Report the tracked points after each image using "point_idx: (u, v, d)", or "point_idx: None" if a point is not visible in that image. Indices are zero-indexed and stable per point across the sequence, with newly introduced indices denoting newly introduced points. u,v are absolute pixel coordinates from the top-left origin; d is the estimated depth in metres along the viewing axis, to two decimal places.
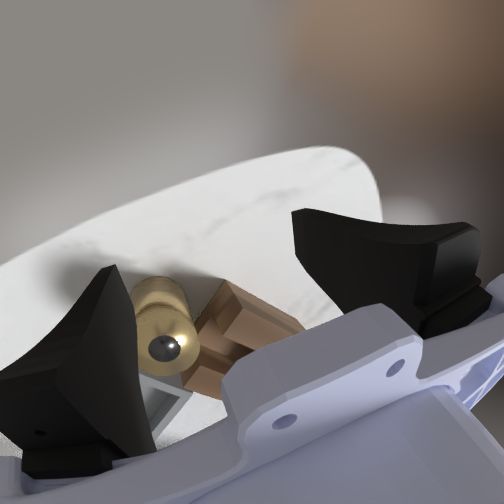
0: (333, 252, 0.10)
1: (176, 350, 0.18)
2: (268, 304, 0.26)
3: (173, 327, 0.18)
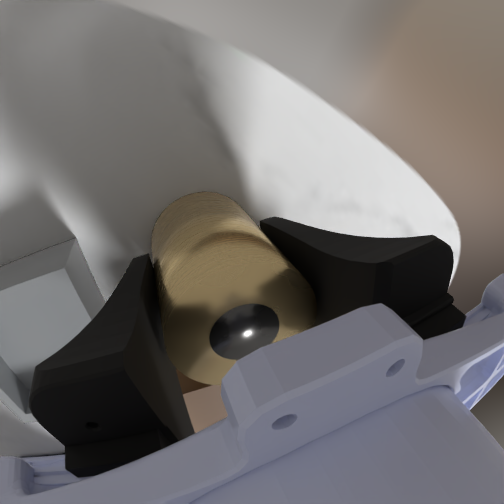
0: (297, 264, 0.10)
1: (258, 346, 0.09)
2: None
3: (298, 306, 0.09)
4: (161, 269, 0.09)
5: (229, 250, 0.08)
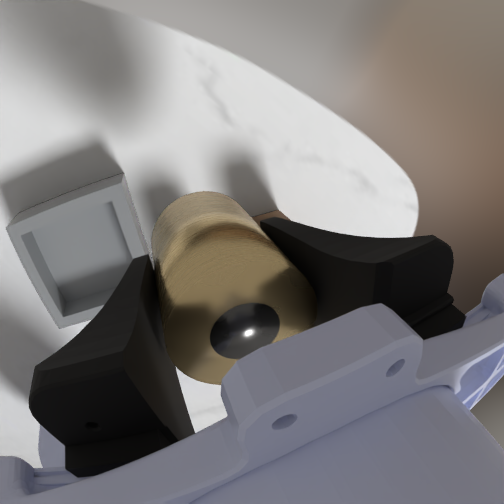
0: (297, 264, 0.10)
1: (259, 345, 0.09)
2: None
3: (298, 305, 0.09)
4: (161, 268, 0.09)
5: (230, 249, 0.08)
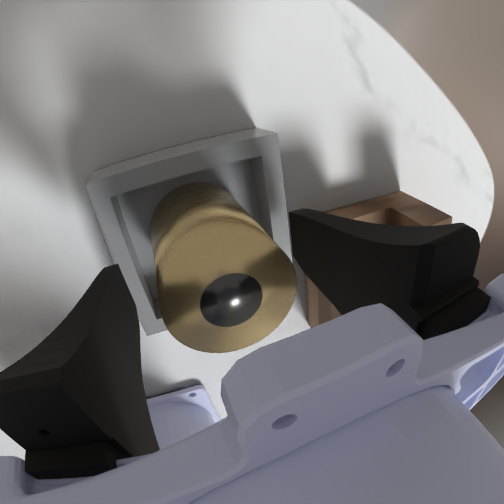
0: (330, 253, 0.10)
1: (244, 314, 0.10)
2: None
3: (279, 277, 0.10)
4: (159, 246, 0.11)
5: (217, 226, 0.09)
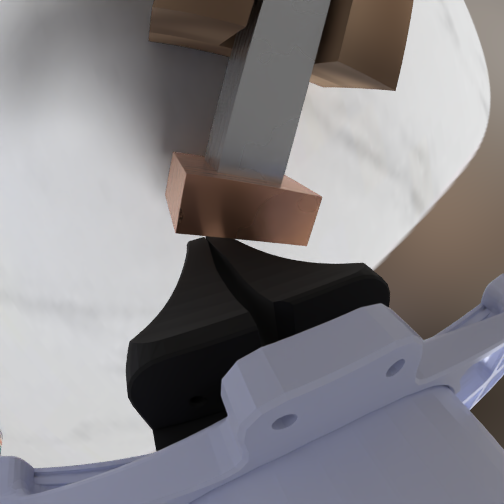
0: (232, 286, 0.09)
1: None
2: None
3: None
4: None
5: None
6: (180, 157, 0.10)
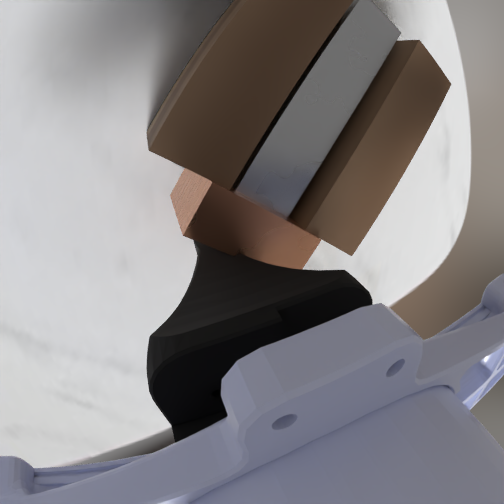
0: None
1: None
2: None
3: None
4: None
5: None
6: None
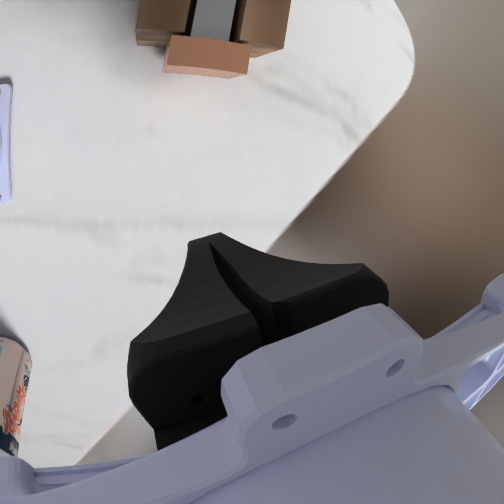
0: (232, 286, 0.09)
1: None
2: None
3: None
4: None
5: None
6: None
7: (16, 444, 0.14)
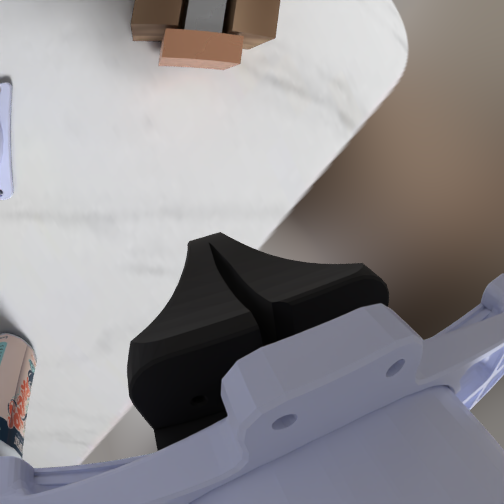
0: (232, 286, 0.09)
1: None
2: None
3: None
4: None
5: None
6: None
7: (21, 439, 0.14)
